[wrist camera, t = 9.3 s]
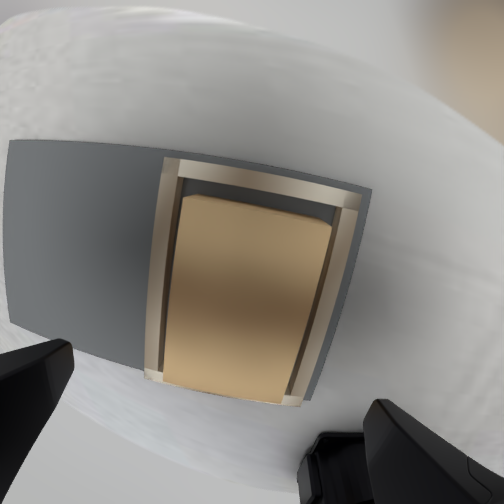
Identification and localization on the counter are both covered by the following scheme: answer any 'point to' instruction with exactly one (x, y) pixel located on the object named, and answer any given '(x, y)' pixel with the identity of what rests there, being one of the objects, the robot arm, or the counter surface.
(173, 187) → the frame
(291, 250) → the tile
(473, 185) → the counter surface
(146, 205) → the mat
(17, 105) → the counter surface
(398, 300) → the counter surface
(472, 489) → the robot arm
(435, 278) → the counter surface
